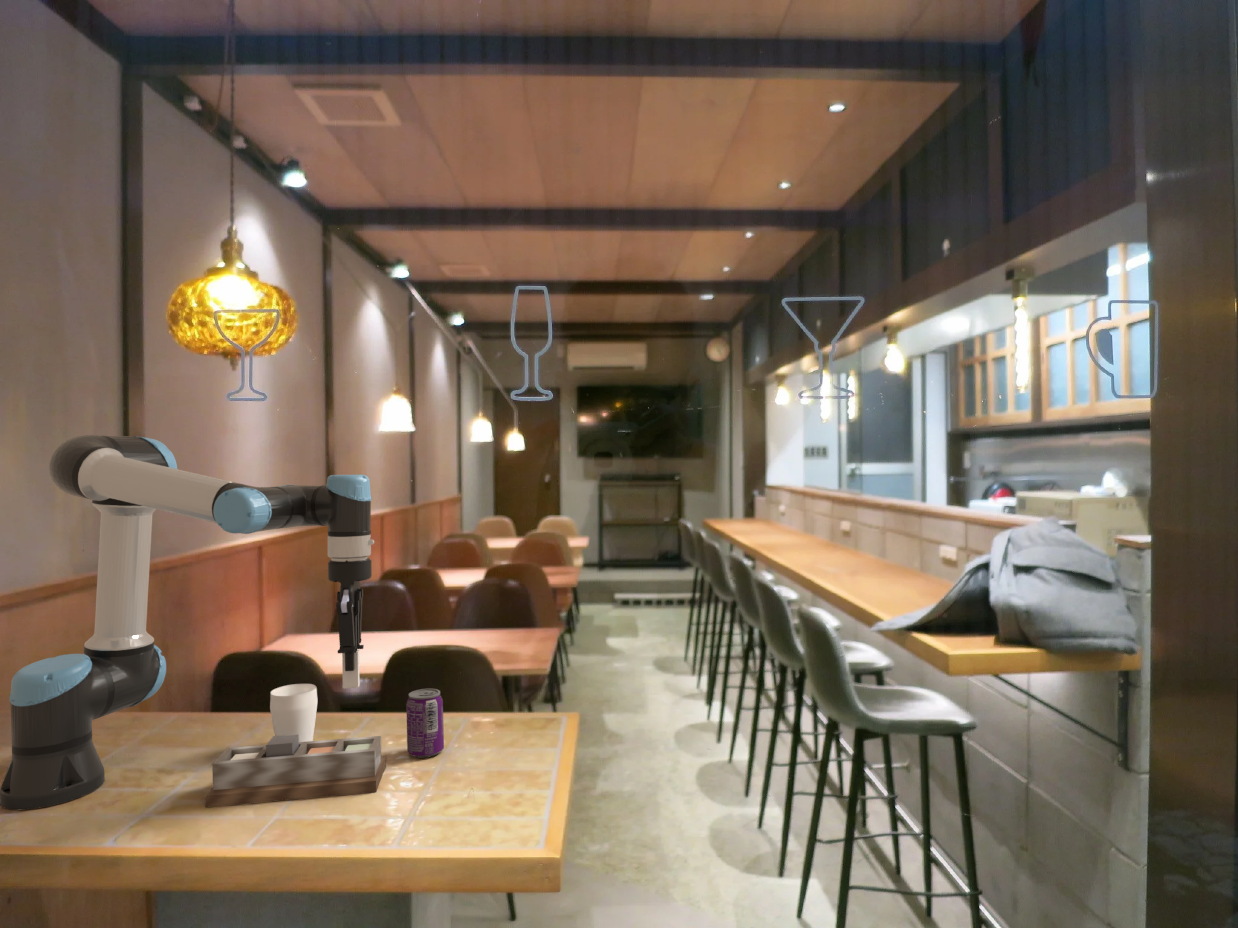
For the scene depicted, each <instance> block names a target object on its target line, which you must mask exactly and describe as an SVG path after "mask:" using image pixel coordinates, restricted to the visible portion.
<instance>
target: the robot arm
mask: <svg viewBox="0 0 1238 928" xmlns="http://www.w3.org/2000/svg"><path fill="white" fill-rule="evenodd" d="M48 472H49V475H50V477H51V480H52V482H53V483H54V485H55V486H56V487H57V488H58V489H59V490H61V491H62V492H64V493H66V494H68V495H70V496H73V497H79V498H84V499H88V500H91V505H92V506H93V507H94V508H96V510H97V511H99V513H100V525H99V540H98V541H99V543H98V564H97V578H96V579H97V581H96V597H95V598H96V600H95V616H94V617H95V619H94V631H93V635H92V636H91V637H89V638H88V639H87V641H85V642H84V646H83V653H68V654H61V655H60V654H59V655H57V656H55V657H47V658H44V659H41V660H37V661H34V662H32V663H29V664H28V665H25V666H22V668H20V669H18V671H17V672H16V673H15V674H14V675H13V676H12V679H11V683H10V684H11V685H10V694H9V699H8V700H9V703H10V718H11V719H10V720H11V721H10V724H11V728H10V729H11V758H10V760H9V761H10V762H9V764H8V767H7V771H5V772H6V773H5V775H4V778H3V781H2V784H1V786H0V804H1V805H0V807H2V808H3V807H5V808H4V809H7V810H13V809H25V810H34V809H40V808H39V807H42V808H46V807H51V806H56V805H60V804H64V803H67V802H70V801H74V800H76V799H79V798H81V797H84V796H86V795H88V794H91V793H93V792H94V791H96V790H98V789H99V788H100V787H102V786H103V785H104V783H105V767H104V765H103V762H102V760H101V758H100V755H99V753H98V751H97V748H96V746H95V745H94V742H93V721H94V720H97V719H100V718H102V717H104V716H108V715H111V714H113V713H116V712H118V711H122V710H124V709H128V708H131V707H134V706H137V705H138V704H140V703H142V702H143V701H146V700H149V699H150V698H152V697H153V696H154V695H155V694H156V693H157V692H158V691H159V689H161V687H162V685H163V683H164V681H165V678H166V675H167V661H166V658H165V656H164V655H162V650H161V648H159V646H157V645H156V644H155V637H153V635H151V634H149V633H148V631H147V620H148V619H147V618H148V603H149V602H148V598H149V583H150V582H149V581H150V565H151V564H150V563H151V546H152V528H153V514H154V513H155V512H156V511H157V510H159V511H163V512H168V513H172V514H174V515H175V514H176V515H180V516H185V517H188V518H193V519H197V520H201V521H204V522H209V523H214V524H217V525H218V526H219V527H220V528H221V529H222V530H223V531H225V532H227V533H229V534H243V535H244V534H245V535H250V534H254V533H256V532H257V533H258V532H264V531H271V530H278V529H280V530H281V529H286V528H296V527H305V526H306V527H309V526H310V527H312V526H313V527H316V526H318V527H320V526H321V527H327V557H328V558H329V559H330V560H329V561H328V562H327V579H328V581H330V582H333V583H340V588H339V591H337V592H336V604H335V606H336V612H337V623H338V636H339V637H338V638H339V640H338V641H339V649H338V650H337V654H341V655H342V659H341V660H342V661H341V662H342V689H356V688H357V689H359V687H360V686H361V685H360V684H361V683H360V650H363V649H364V644H361V643H362V623H363V622H362V620H363V619H362V616H363V613H362V612H363V600H364V599H363V597H364V589H363V588H361V583H360V582H364V581H367V580H370V579H371V578H372V575H373V574H372V573H373V572H372V570H373V569H372V559H371V558H369V556H371V555H372V546H373V545H374V544H375V540H374V539H372V538H371V534H372V529H371V528H372V526H371V521H372V520H371V517H372V515H371V508H372V503H371V502H372V499H373V498H372V494H371V482H370V481H371V480H370V478H369V477H368V475H366V474H331V475H329V476H328V477H327V479H326V484H325V485H324V484H323V485H305V484H303V485H295V484H284V485H278V486H277V485H276V486H264V487H263V486H261V487H259V486H253V485H247V484H244V483H239V482H234V481H231V480H225V479H221V478H218V477H214V476H209V475H204V474H201V473H200V474H199V473H195V472H191V471H187V470H181V469H178V465H177V461H176V458H175V455H174V454H173V452H172V450H170V449H169V448H168V447H167V445H165V444H164V443H163V442H161V441H160V440H157V439H154V438H151V437H142V436H138V435H136V436H131V435H130V436H128V435H127V436H125V435H121V436H120V435H119V436H118V435H97V434H85V435H79V436H74V437H72V438H69V439H67V440H66V441H64V442H62V443H61V444H59V446H57V447H56V449H55V450H54V451H53V453H52V455H51V456H50V459H49V463H48Z"/></svg>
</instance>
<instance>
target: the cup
mask: <svg viewBox="0 0 1238 928" xmlns="http://www.w3.org/2000/svg"><path fill="white" fill-rule="evenodd" d="M269 701H270V702H269V710H270V716H271V717H270V718H271V721H272V722H271V723H272V727H273V733H274V736H285V735H298V734H299V742H308V741H314V733H315V725H316V719H317V718H316V717H317V709H318V702H319V701H318V688H317V686H316V685H315V684H314V683H313V684H312V683H295V684H287V685H283V686H279V687H277V688H274V689H272V690H271V691H270V700H269Z"/></svg>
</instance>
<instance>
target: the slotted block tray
mask: <svg viewBox="0 0 1238 928" xmlns="http://www.w3.org/2000/svg"><path fill="white" fill-rule="evenodd" d="M371 743H372V745H371V747H370V749H364V750H351V751H345V750H346V748H347V746H348V745H358V744H371ZM334 746H335V748H334V749H333V751H332V752H327V753H314V754H308V752H309V751H310V749H311V748H321V747H334ZM247 753H259V754H258V755H257V756H256V757H255V758H253V759H240V760H231V759H232V758H233V757H234V756H235V754H247ZM211 765H212V767H211V768H212V769H211V770H212V788H211V789H210V790H209V791H208V792H207V793H206V794H205V796H204V797H205V799H204V802H205V804H204V805H205V807H204V808H213V807H215V808H217V807H224V806H237V805H246V804H248V805H249V804H258V803H259V804H261V803H270V802H279V801H281V802H283V801H292V800H293V801H294V800H302V799H303V800H304V799H305V800H306V799H315V798H325V797H326V798H327V797H335V796H344V795H345V796H348V795H361V794H368V793H377V791H378V789H379V786H380V783H381V780H382V777H383V775H384V772H385V769H386V767H387V756H386V755H382V736H381V735H376V736H375V735H374V736H364V737H360V736H359V737H349V738H347V737H346V738H337V739H336V738H335V739H323V740H321V739H320V740H313V741H308V742H299V748H298V750H297V751H296V752H295V754H294V755H290V756H277V757H266V744H261V745H258V744H257V745H248V746H247V745H246V746H233V747H227V748H226V749H225V750H224V751H223V752H222V754H221V755H219V756H218V758H216V760H214V762H212V764H211Z"/></svg>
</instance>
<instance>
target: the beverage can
mask: <svg viewBox="0 0 1238 928" xmlns="http://www.w3.org/2000/svg"><path fill="white" fill-rule="evenodd" d="M405 709H406V746H407V748H406V749H407V750H406V752H407V753H408V754H409V755H410V756H413V757H415V758H420V759H422V758H430V757H433V756H436V755H438V754H439V753H440V752H442V751H443V750H444V747H445V738H444V737H445V736H444V700H443V697H442V695H441V690H439V689H437V688H421V689H416V690H413V691H411V692H409V693H408V699H407V701H406V708H405Z"/></svg>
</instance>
